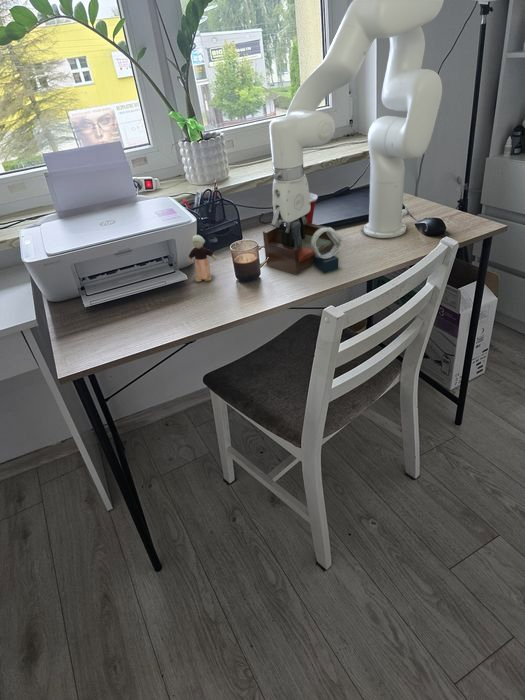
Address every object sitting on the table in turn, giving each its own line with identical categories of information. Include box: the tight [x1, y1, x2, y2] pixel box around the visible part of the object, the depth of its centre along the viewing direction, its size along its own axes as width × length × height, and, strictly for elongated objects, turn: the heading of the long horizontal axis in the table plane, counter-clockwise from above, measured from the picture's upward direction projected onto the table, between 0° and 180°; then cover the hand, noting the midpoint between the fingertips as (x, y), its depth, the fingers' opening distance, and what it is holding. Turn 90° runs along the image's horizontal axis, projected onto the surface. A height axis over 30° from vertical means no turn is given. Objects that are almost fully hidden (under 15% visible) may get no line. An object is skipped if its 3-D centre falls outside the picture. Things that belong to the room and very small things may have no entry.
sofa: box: [262, 217, 335, 276], centre depth 128 cm, size 17×11×10 cm, turn 136°
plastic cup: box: [307, 192, 319, 224], centre depth 143 cm, size 11×11×12 cm
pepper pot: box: [284, 219, 302, 251], centre depth 124 cm, size 4×4×8 cm
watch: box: [311, 226, 343, 274], centre depth 122 cm, size 6×8×11 cm
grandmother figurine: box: [187, 234, 217, 283], centre depth 123 cm, size 8×4×13 cm, turn 99°
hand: (293, 241), depth 125 cm, fingers open, 4 cm apart
